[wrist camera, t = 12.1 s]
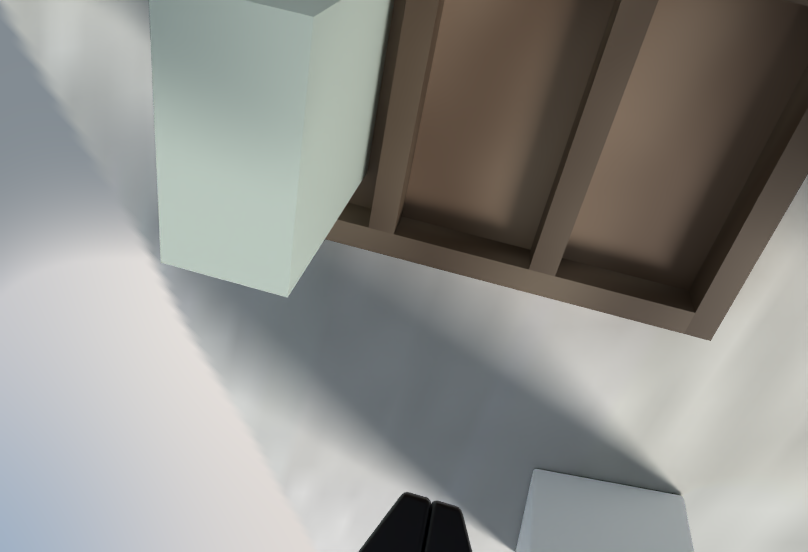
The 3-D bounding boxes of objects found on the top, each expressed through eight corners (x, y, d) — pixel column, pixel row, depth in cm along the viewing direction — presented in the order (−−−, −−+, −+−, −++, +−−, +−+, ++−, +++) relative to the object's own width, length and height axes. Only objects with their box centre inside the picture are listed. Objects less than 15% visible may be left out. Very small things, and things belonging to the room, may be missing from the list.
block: (400, -37, 17) (313, 16, 11) (366, 172, 20) (287, 297, 14) (289, -62, 17) (147, -23, 11) (275, 148, 20) (160, 262, 14)
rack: (901, -43, 15) (996, -16, 12) (702, 315, 21) (728, 398, 18) (241, -185, 16) (159, -196, 13) (231, 192, 22) (174, 248, 19)
